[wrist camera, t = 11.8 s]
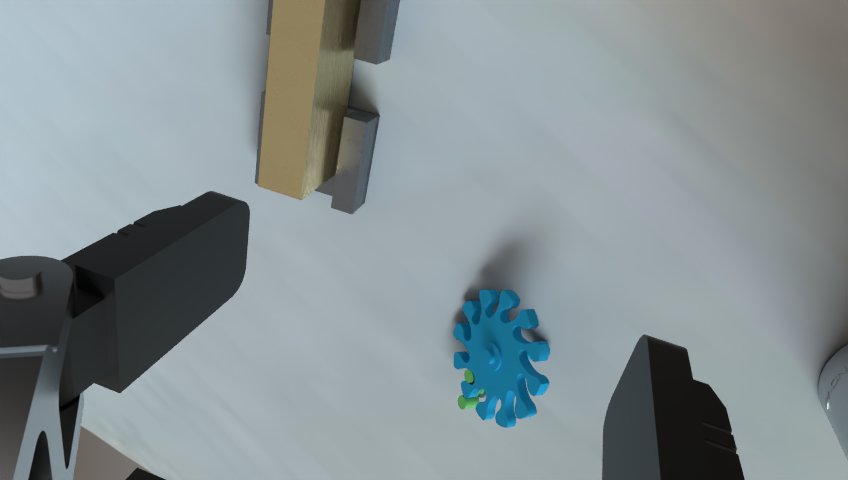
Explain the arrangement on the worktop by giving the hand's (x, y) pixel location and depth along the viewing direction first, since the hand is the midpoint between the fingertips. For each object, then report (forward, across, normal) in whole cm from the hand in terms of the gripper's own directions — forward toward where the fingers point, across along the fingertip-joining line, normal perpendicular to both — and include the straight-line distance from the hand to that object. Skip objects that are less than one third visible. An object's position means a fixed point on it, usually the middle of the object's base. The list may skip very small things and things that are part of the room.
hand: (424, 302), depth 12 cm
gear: (+30, -2, +20) cm, 37 cm away
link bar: (+30, +15, +4) cm, 33 cm away
